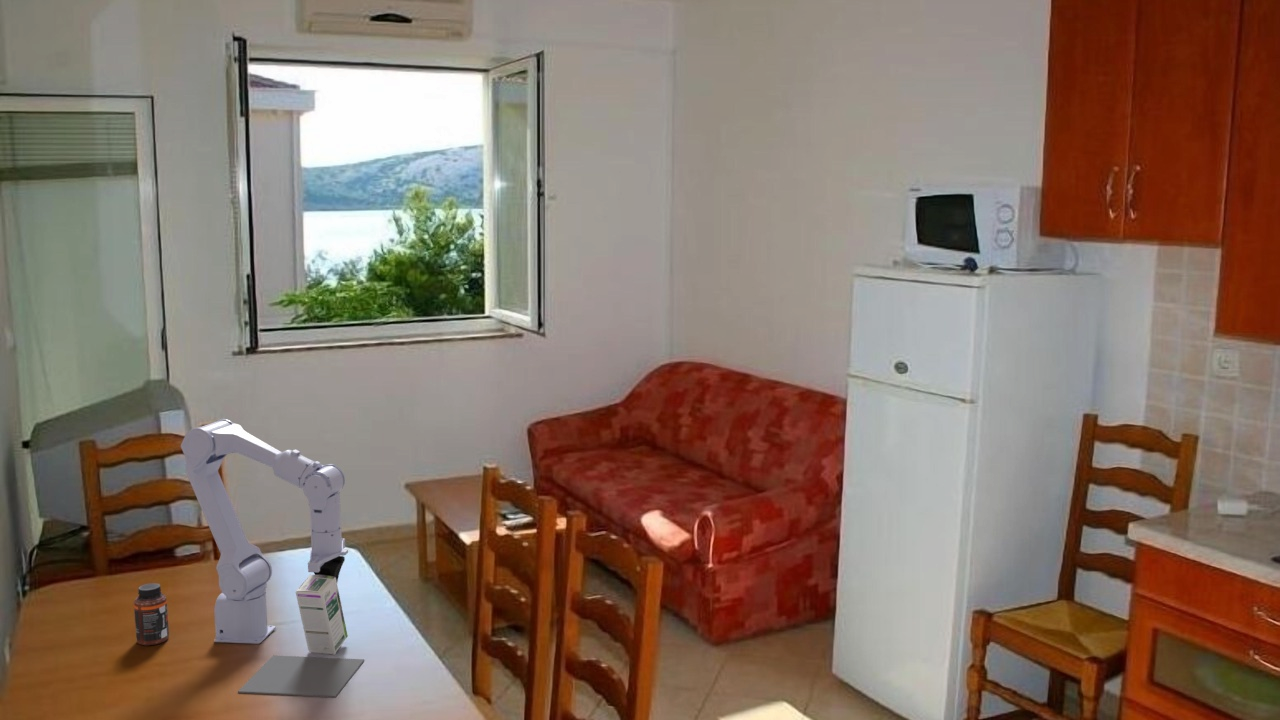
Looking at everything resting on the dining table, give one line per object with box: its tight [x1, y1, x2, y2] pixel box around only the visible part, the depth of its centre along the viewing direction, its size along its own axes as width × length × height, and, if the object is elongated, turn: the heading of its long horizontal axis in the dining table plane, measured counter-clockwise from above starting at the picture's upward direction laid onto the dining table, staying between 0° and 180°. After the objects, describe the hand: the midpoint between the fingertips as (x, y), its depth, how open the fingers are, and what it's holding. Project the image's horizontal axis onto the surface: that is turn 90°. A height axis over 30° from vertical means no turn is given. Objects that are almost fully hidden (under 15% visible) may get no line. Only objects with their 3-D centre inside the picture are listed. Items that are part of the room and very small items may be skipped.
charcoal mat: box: [237, 654, 365, 698], centre depth 197 cm, size 18×15×1 cm
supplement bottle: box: [133, 582, 170, 646], centre depth 212 cm, size 6×6×11 cm
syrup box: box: [295, 574, 349, 655], centre depth 207 cm, size 6×6×14 cm
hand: (328, 594), depth 210 cm, fingers closed
